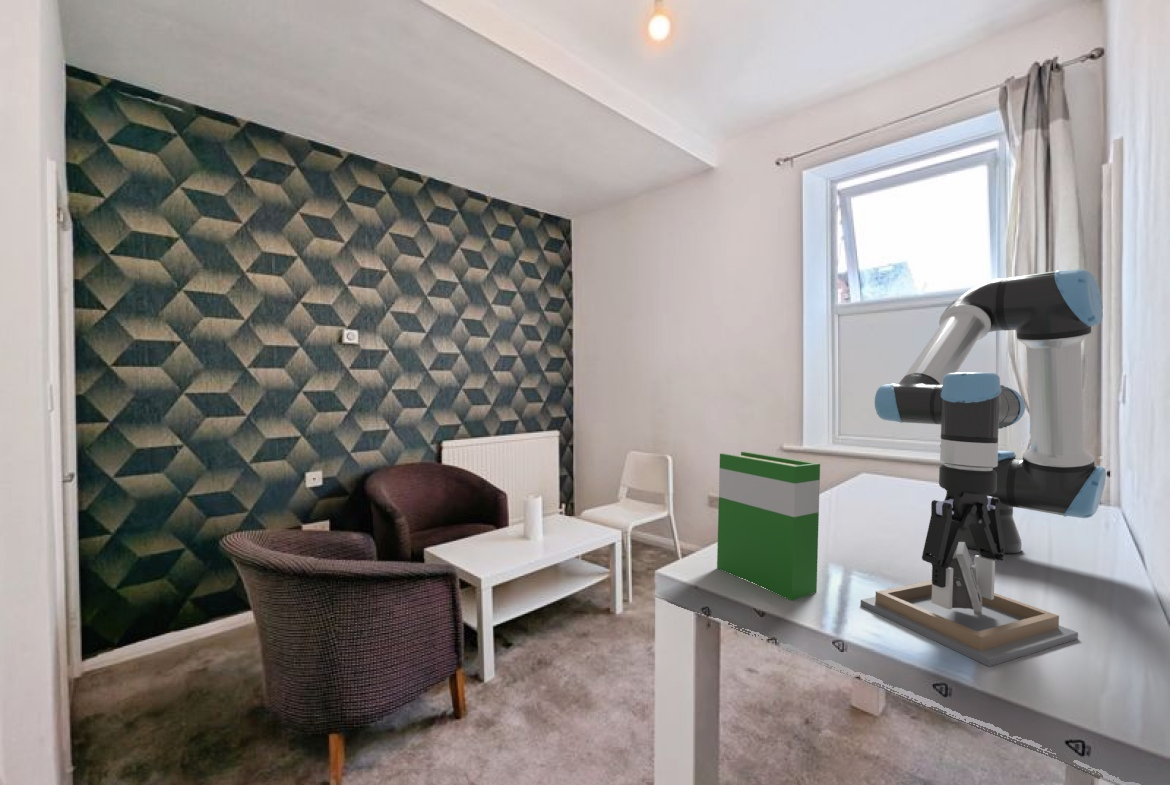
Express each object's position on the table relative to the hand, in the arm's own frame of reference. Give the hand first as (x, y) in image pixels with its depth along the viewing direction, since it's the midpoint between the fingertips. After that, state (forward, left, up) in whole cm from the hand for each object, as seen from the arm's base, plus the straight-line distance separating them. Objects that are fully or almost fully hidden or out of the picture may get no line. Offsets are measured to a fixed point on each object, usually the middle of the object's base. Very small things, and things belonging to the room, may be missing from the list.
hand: (963, 600), depth 82 cm
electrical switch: (0, 0, 0) cm, 1 cm away
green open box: (+19, -25, -4) cm, 32 cm away
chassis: (0, 0, -3) cm, 3 cm away
